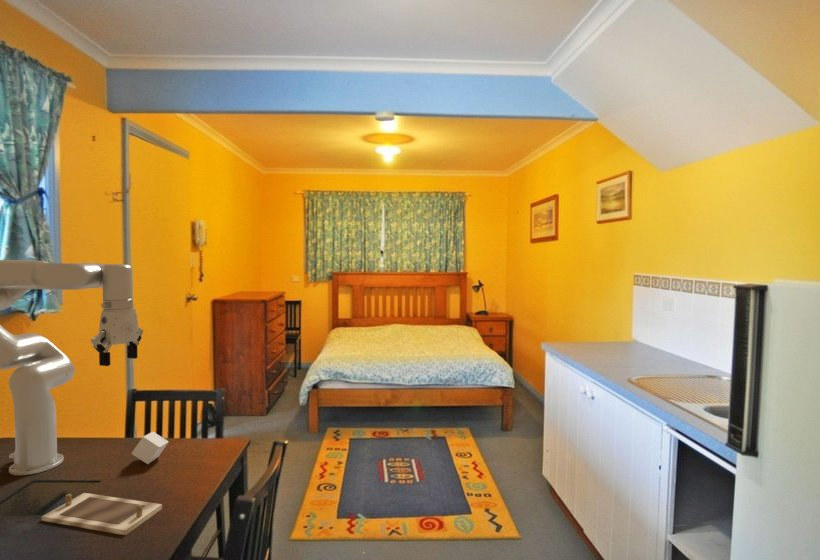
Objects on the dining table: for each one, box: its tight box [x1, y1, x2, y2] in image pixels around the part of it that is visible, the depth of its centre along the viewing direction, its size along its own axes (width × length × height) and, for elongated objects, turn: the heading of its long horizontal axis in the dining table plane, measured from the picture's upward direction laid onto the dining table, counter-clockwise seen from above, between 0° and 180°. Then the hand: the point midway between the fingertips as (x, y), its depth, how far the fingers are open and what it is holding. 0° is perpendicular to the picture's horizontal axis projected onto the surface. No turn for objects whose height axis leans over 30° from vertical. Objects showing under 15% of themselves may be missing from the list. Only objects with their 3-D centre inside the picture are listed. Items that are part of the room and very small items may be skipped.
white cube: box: [131, 431, 169, 465], centre depth 137 cm, size 6×6×6 cm
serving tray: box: [41, 492, 163, 536], centre depth 109 cm, size 24×11×4 cm, turn 78°
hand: (119, 361), depth 132 cm, fingers open, 9 cm apart
